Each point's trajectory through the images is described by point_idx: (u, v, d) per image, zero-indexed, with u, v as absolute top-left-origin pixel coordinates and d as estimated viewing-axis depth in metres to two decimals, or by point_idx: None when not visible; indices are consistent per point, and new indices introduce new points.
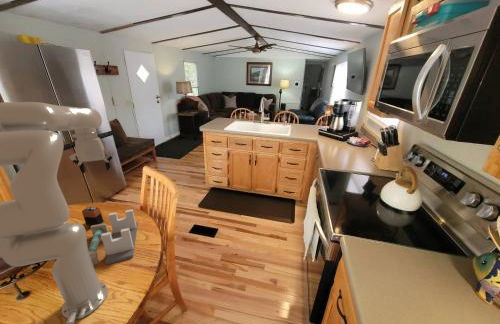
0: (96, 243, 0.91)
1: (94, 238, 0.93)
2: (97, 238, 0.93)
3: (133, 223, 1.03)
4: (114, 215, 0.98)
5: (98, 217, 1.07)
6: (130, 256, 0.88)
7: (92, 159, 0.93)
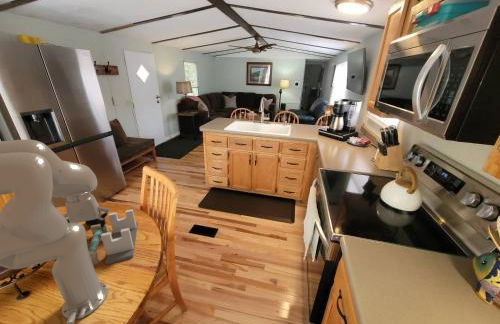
0: (96, 243, 0.91)
1: (94, 238, 0.93)
2: (97, 238, 0.93)
3: (133, 223, 1.03)
4: (114, 215, 0.98)
5: None
6: (130, 256, 0.88)
7: (85, 219, 0.85)
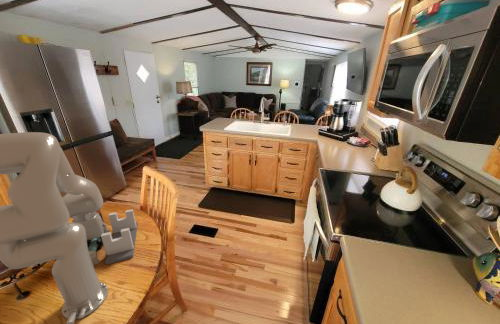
0: (96, 243, 0.91)
1: (94, 238, 0.93)
2: None
3: (133, 223, 1.03)
4: (114, 215, 0.98)
5: None
6: (130, 256, 0.88)
7: (90, 237, 0.88)
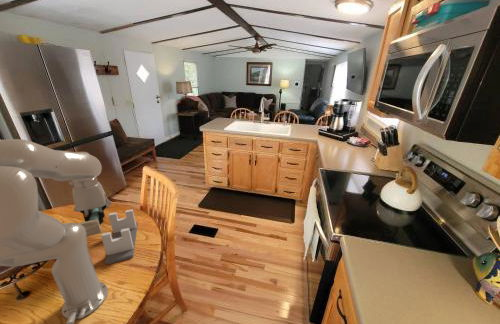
0: (97, 214, 0.87)
1: (95, 209, 0.89)
2: None
3: (133, 223, 1.03)
4: (114, 215, 0.98)
5: None
6: (130, 256, 0.88)
7: (92, 207, 0.84)
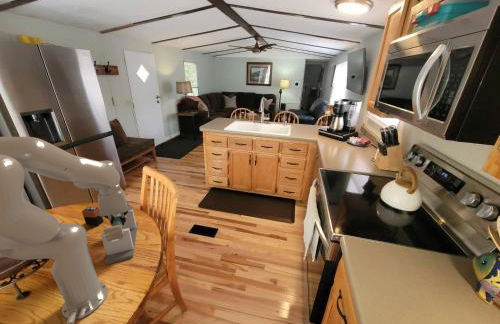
0: (120, 219, 0.91)
1: (117, 214, 0.93)
2: (120, 214, 0.94)
3: (133, 223, 1.03)
4: (114, 215, 0.98)
5: (98, 217, 1.07)
6: (130, 256, 0.88)
7: (115, 212, 0.88)
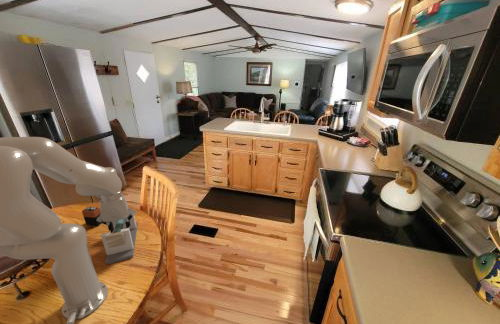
0: (121, 225, 0.93)
1: (119, 221, 0.95)
2: (121, 221, 0.95)
3: (133, 223, 1.03)
4: None
5: None
6: (130, 256, 0.88)
7: (116, 218, 0.89)
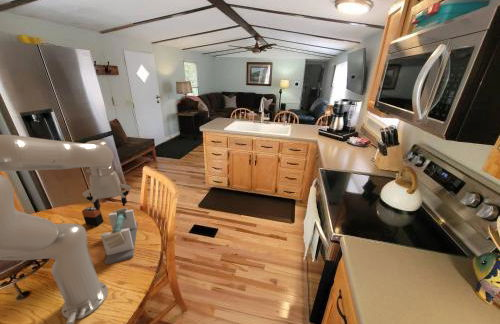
0: (120, 225, 0.92)
1: (117, 221, 0.94)
2: (120, 221, 0.95)
3: (133, 223, 1.03)
4: (114, 215, 0.98)
5: (98, 217, 1.07)
6: (130, 256, 0.88)
7: (107, 195, 0.84)
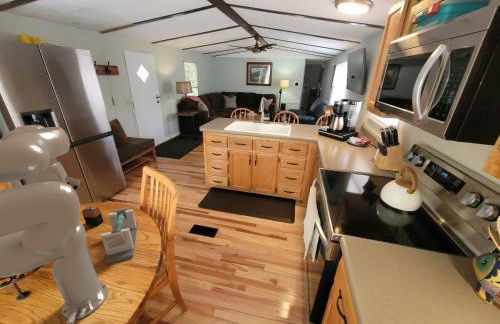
0: (121, 225, 0.93)
1: (118, 221, 0.94)
2: (121, 221, 0.95)
3: (133, 223, 1.03)
4: (114, 215, 0.98)
5: (98, 217, 1.07)
6: (130, 256, 0.88)
7: None
